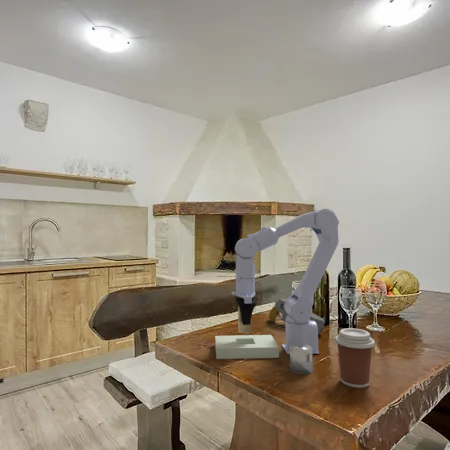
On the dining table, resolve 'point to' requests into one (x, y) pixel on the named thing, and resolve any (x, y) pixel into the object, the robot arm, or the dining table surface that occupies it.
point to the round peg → (301, 358)
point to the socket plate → (246, 347)
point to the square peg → (242, 327)
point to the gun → (280, 308)
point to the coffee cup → (354, 356)
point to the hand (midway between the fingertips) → (245, 322)
